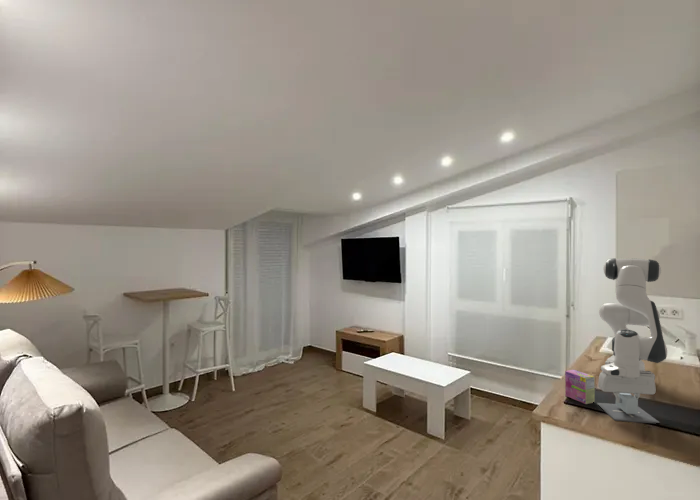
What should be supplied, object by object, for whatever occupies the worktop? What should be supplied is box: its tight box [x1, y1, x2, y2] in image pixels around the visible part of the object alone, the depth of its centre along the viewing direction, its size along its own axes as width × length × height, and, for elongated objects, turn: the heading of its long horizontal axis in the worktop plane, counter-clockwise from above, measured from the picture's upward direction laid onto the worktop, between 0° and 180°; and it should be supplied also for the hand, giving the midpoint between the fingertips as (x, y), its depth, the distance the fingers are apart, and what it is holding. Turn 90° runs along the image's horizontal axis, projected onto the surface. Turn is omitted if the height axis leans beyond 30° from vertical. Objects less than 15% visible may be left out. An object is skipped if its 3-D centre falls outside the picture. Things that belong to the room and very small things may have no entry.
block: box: [614, 393, 639, 414], centre depth 159 cm, size 4×9×6 cm, turn 170°
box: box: [564, 369, 596, 405], centre depth 174 cm, size 10×6×12 cm, turn 21°
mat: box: [595, 402, 661, 424], centre depth 160 cm, size 16×16×1 cm
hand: (626, 402), depth 160 cm, fingers closed on block, 4 cm apart
